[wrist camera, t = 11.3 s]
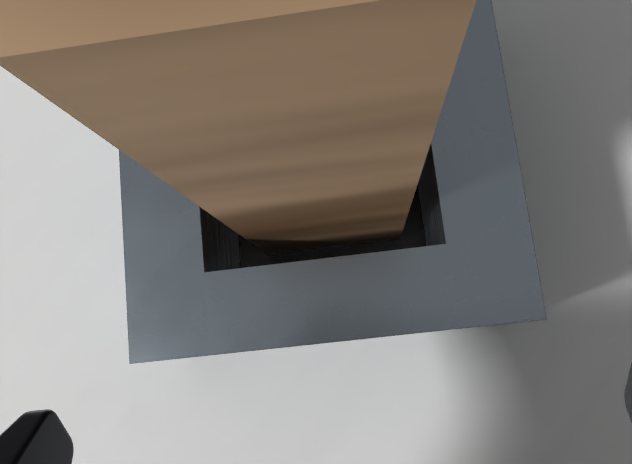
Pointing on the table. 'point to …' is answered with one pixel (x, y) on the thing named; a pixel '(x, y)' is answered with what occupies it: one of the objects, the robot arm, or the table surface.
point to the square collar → (353, 270)
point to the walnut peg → (255, 101)
